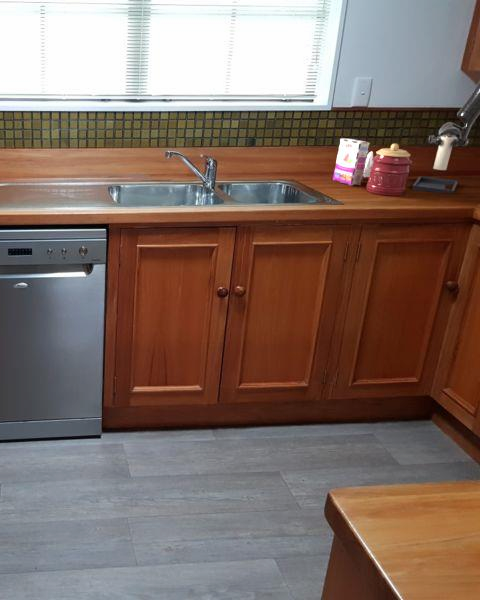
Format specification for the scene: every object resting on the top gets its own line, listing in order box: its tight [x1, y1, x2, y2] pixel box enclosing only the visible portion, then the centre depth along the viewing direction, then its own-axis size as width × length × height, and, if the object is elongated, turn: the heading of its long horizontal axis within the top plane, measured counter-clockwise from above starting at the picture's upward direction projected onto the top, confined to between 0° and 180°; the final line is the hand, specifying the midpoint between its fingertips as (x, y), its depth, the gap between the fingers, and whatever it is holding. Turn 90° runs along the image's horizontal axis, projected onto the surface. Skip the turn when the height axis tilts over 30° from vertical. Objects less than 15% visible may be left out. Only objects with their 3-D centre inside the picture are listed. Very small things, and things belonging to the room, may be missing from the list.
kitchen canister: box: [365, 143, 412, 197], centre depth 221 cm, size 13×13×18 cm
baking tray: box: [411, 176, 459, 195], centre depth 234 cm, size 14×22×2 cm, turn 146°
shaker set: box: [362, 151, 374, 180], centre depth 244 cm, size 12×4×11 cm, turn 108°
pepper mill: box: [432, 133, 455, 171], centre depth 229 cm, size 4×4×13 cm
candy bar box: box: [332, 138, 371, 187], centre depth 235 cm, size 11×5×16 cm, turn 17°
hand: (445, 143), depth 225 cm, fingers closed on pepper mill, 4 cm apart
